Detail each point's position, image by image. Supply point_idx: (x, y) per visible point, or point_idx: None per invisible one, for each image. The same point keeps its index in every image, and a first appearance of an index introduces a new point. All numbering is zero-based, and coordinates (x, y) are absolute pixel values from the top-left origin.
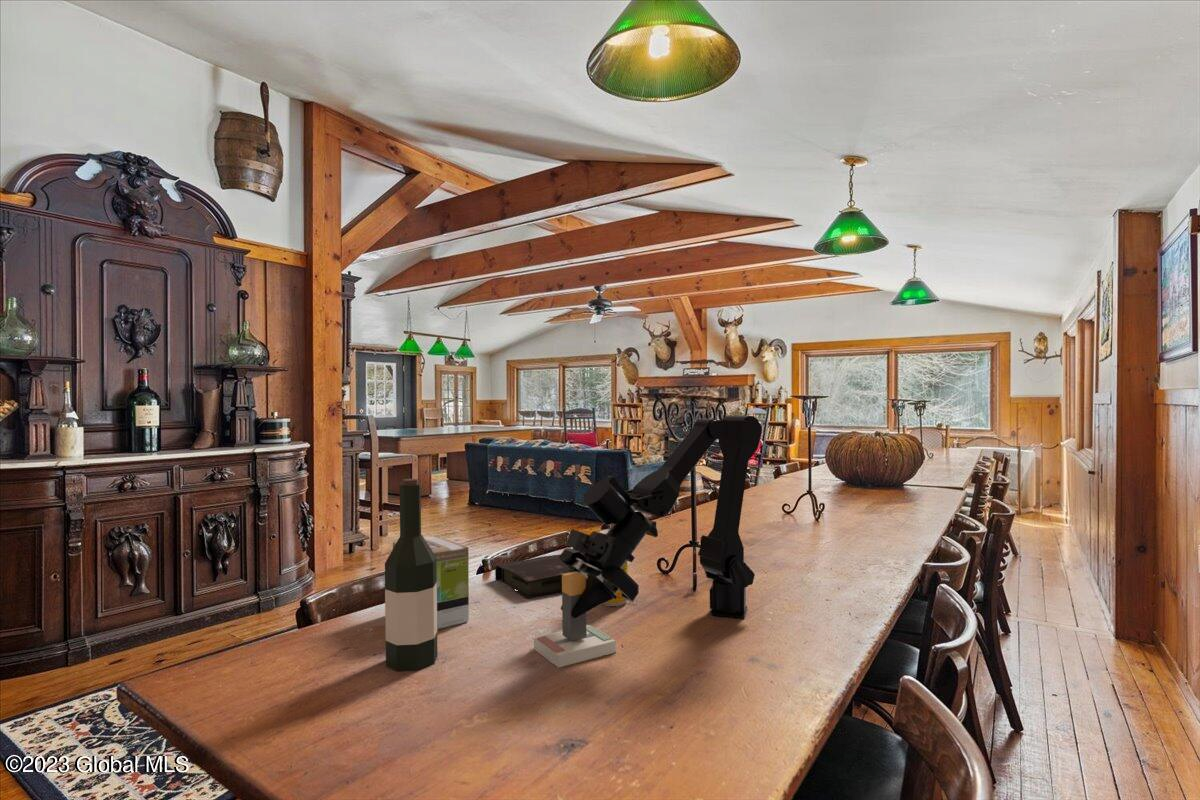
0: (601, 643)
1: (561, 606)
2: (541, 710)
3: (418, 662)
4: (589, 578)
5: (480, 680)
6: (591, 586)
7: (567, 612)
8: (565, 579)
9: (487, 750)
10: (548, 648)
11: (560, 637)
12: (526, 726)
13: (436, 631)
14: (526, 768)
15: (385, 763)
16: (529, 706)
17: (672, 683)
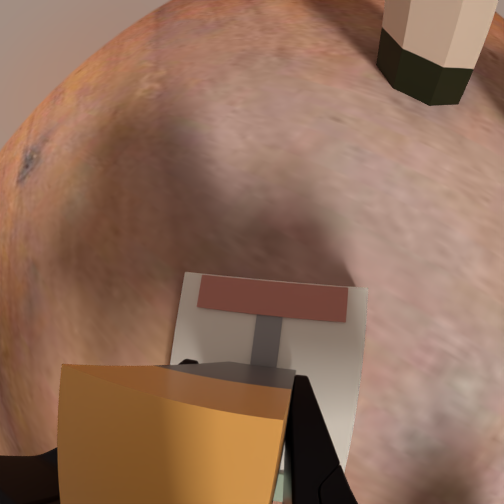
0: None
1: (309, 382)
2: (93, 162)
3: (378, 55)
4: (15, 482)
5: (264, 115)
6: (35, 460)
7: (233, 369)
8: (192, 395)
9: (91, 88)
10: (251, 278)
11: (306, 366)
12: (84, 132)
13: (435, 60)
14: (45, 115)
15: (156, 25)
16: (114, 151)
17: (14, 402)
